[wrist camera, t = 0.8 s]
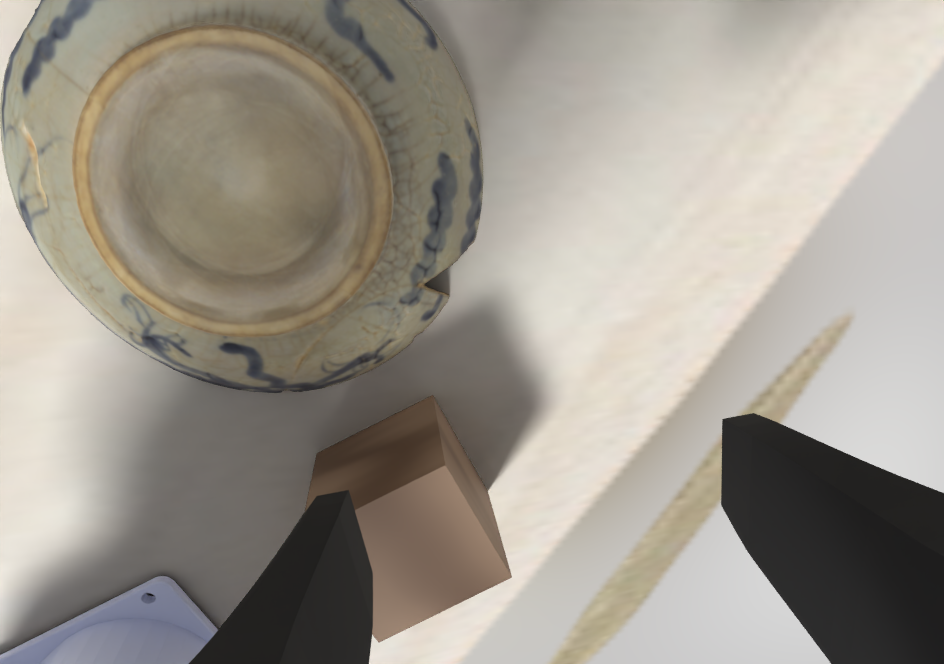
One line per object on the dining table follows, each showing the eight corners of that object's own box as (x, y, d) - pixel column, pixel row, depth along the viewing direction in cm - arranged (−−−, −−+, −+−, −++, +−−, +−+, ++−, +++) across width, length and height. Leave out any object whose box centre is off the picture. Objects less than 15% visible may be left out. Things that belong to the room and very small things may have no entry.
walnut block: (379, 543, 24) (378, 642, 20) (317, 452, 23) (299, 537, 18) (487, 490, 24) (511, 577, 20) (432, 394, 22) (445, 464, 18)
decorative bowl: (-23, -135, 16) (31, 377, 20) (-135, -211, 12) (-40, 427, 17) (514, -30, 19) (456, 400, 23) (545, -67, 15) (471, 447, 20)
